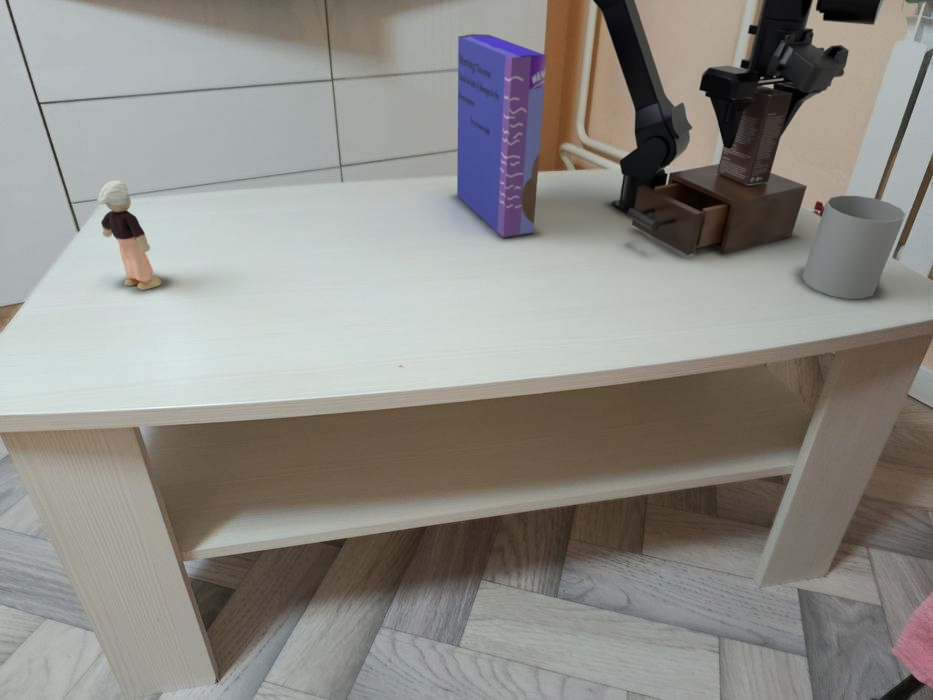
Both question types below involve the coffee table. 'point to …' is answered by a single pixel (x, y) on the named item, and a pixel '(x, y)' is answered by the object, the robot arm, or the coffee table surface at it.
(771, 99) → the box
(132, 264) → the grandmother figurine
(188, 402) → the coffee table surface
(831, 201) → the cup
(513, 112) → the cereal box
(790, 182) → the cabinet
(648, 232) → the drawer
